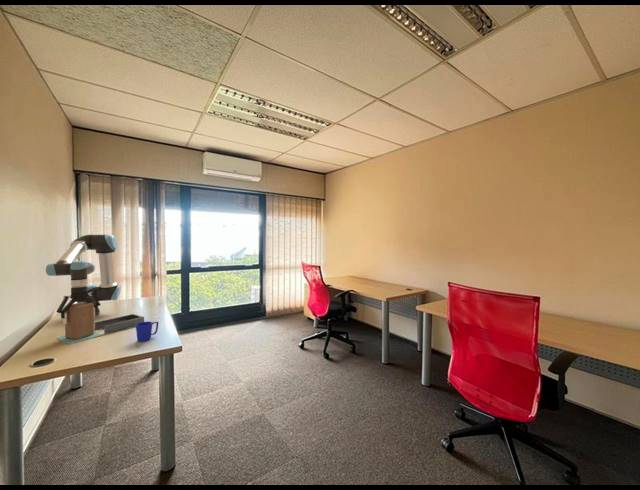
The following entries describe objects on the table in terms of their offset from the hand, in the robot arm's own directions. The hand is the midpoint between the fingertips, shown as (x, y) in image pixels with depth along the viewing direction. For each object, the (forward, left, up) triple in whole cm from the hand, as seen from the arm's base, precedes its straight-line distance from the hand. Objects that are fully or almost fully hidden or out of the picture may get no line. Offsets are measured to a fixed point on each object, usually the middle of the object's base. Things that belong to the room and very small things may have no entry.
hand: (79, 320), depth 161 cm
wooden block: (0, 0, -10) cm, 10 cm away
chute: (0, +21, -10) cm, 23 cm away
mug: (+39, +19, -10) cm, 45 cm away
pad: (0, 0, -10) cm, 10 cm away
